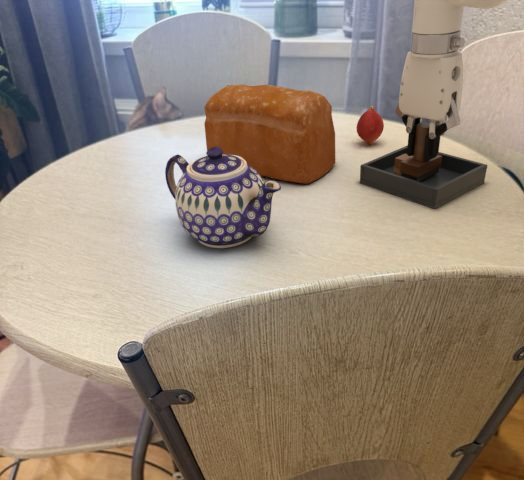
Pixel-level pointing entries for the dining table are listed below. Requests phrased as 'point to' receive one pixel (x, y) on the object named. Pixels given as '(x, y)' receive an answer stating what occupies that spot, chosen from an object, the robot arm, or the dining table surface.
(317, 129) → the bread
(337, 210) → the dining table surface
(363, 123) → the onion
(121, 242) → the dining table surface
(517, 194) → the dining table surface
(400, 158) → the brown wooden cube
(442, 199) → the tray
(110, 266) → the dining table surface
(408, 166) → the wooden rubber stamp
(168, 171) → the teapot
